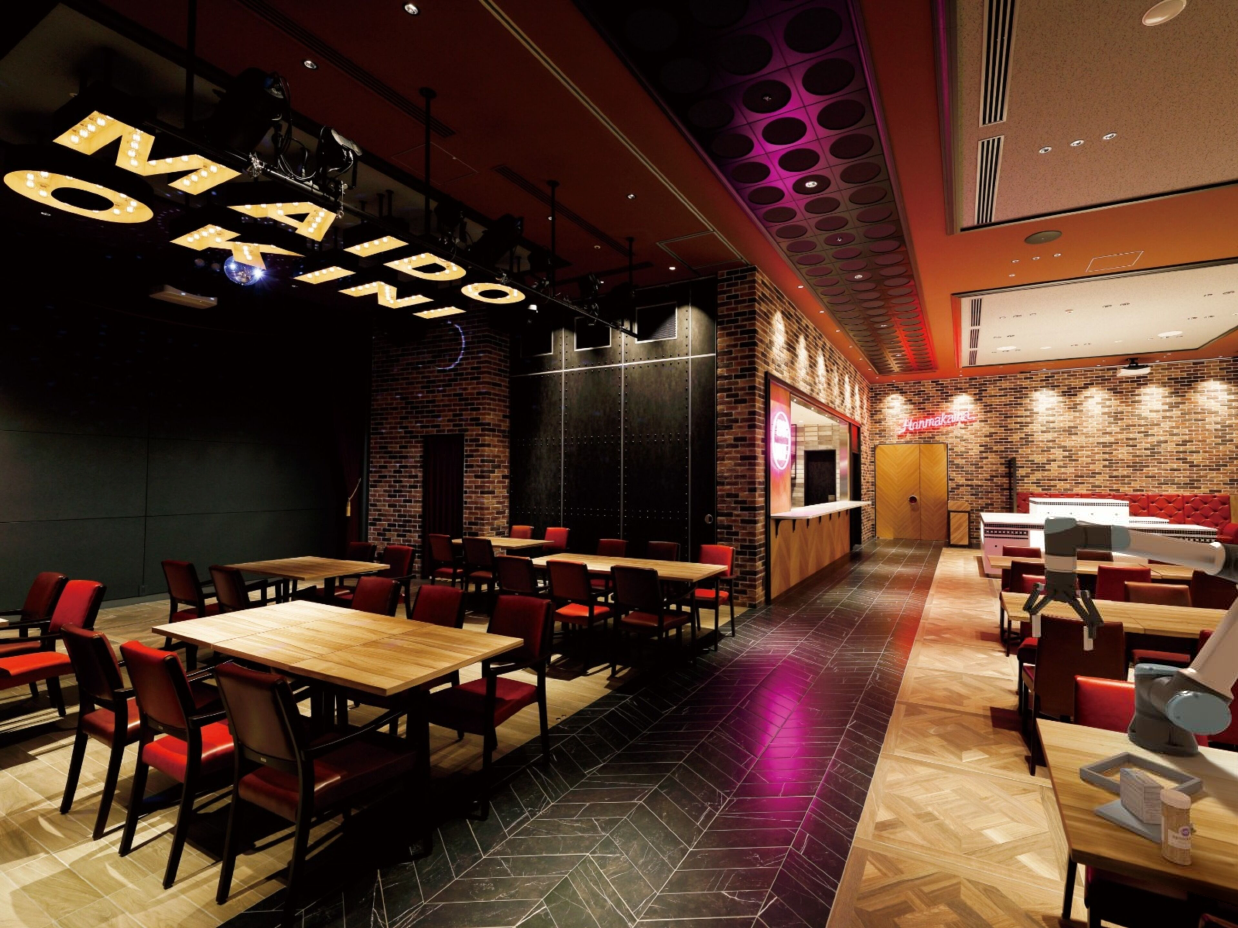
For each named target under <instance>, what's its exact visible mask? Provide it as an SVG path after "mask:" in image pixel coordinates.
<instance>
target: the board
mask: <svg viewBox="0 0 1238 928" xmlns="http://www.w3.org/2000/svg"><path fill="white" fill-rule="evenodd" d="M1094 814H1095V815H1097V816H1100V817H1102V818H1104V819H1105V820H1108V821H1110V822H1112V823H1115V824H1117V825H1118V826H1121V827H1123V828H1125V829H1127V830H1130V831H1132V832H1134V833H1135V834H1138V835H1139V836H1142V837H1145V838H1147V839H1148V840H1150V841H1153V842H1155V843H1157V844H1162V838H1161V825H1159V824H1148V823H1144V822H1143V821H1141V820H1140V819H1139V818H1138V817H1136V816H1135V815H1134V814H1133V813H1132V812H1130V811H1129V810H1128V809H1127V808H1125V807H1124V806H1123V805H1122V804H1121V798H1118V799H1117V798H1116V799H1115V800H1113V801H1110V802H1107V803H1105V804H1102V805H1100V806H1097V807H1095V808H1094ZM1193 826H1194V822H1193V821H1191V820H1190V830H1191V829H1192V828H1193Z"/></svg>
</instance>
